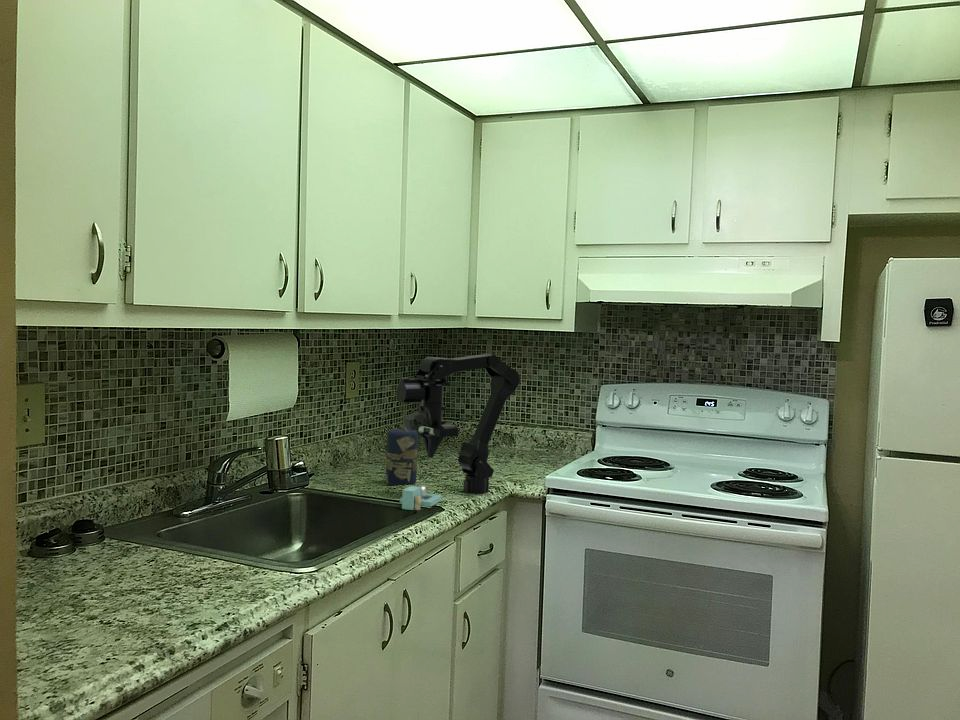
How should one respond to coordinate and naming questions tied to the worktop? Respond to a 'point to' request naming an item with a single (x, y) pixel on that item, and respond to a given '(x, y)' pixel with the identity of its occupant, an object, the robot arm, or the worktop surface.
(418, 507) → the dowel
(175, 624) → the worktop surface
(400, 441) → the canister
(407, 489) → the flange
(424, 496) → the post
